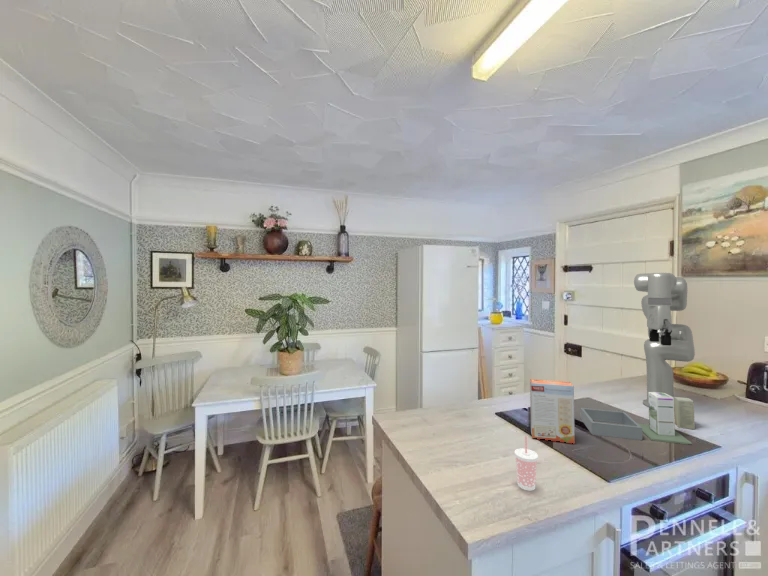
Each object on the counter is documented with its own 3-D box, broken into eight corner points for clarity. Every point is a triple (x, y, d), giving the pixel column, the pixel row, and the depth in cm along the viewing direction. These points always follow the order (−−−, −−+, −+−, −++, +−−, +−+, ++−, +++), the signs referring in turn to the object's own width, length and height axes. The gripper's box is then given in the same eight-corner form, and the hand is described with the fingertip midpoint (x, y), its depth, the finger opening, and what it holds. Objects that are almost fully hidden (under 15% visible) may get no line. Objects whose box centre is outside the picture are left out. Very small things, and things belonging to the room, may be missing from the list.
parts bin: (580, 418, 137) (580, 407, 137) (624, 422, 132) (624, 411, 132) (591, 434, 122) (591, 422, 122) (642, 440, 117) (642, 427, 117)
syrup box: (675, 436, 118) (675, 397, 119) (657, 435, 120) (656, 396, 120) (665, 430, 124) (665, 392, 124) (648, 428, 125) (647, 391, 125)
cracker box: (571, 437, 120) (570, 381, 120) (575, 444, 114) (574, 385, 114) (530, 432, 124) (529, 378, 124) (531, 439, 119) (531, 382, 119)
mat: (634, 424, 130) (634, 423, 130) (671, 428, 127) (671, 427, 127) (651, 440, 117) (651, 438, 117) (692, 445, 113) (692, 443, 113)
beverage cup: (513, 477, 94) (513, 429, 94) (536, 481, 93) (536, 432, 93) (515, 490, 88) (515, 439, 89) (540, 494, 87) (539, 442, 87)
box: (690, 425, 129) (690, 398, 129) (695, 429, 125) (694, 401, 125) (673, 423, 132) (673, 396, 132) (677, 427, 128) (677, 399, 128)
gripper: (639, 301, 144) (639, 339, 144) (658, 303, 127) (659, 346, 127) (660, 301, 141) (660, 340, 141) (682, 303, 125) (682, 347, 125)
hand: (659, 343), depth 134 cm, fingers open, 9 cm apart
